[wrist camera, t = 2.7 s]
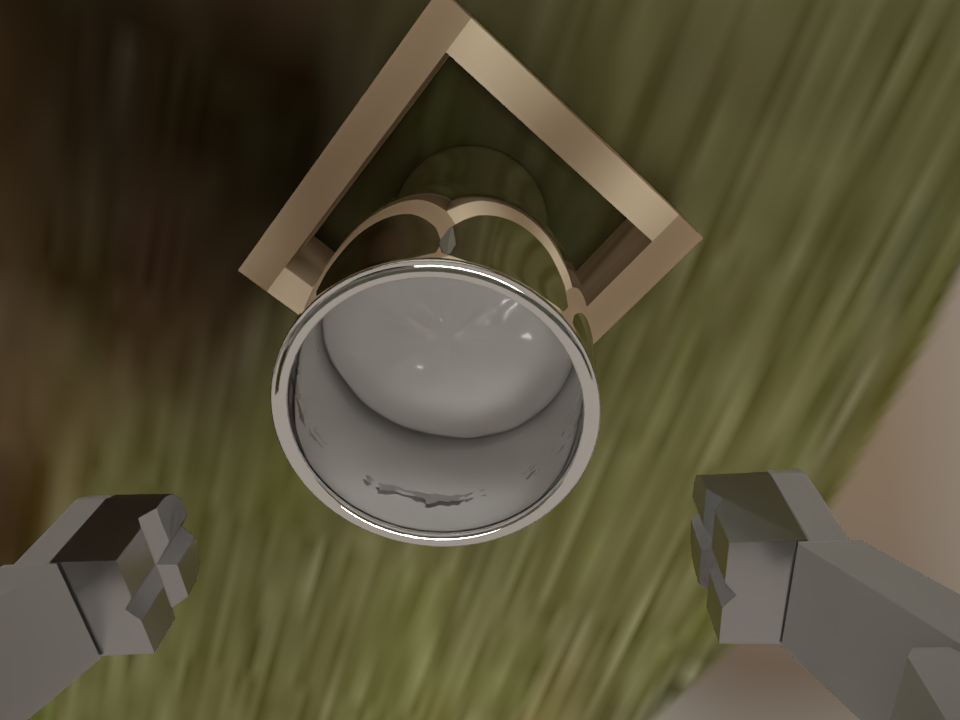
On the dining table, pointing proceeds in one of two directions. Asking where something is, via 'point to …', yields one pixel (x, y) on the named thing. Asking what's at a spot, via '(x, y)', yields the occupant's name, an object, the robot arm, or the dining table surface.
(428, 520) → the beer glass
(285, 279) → the sleeve
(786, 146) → the dining table surface
